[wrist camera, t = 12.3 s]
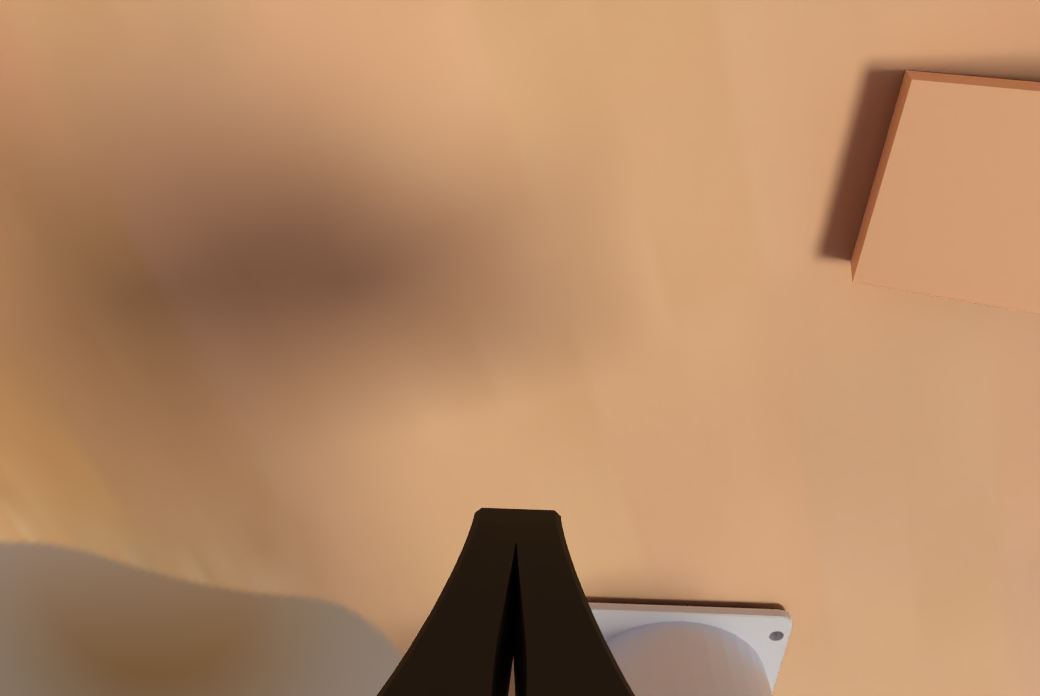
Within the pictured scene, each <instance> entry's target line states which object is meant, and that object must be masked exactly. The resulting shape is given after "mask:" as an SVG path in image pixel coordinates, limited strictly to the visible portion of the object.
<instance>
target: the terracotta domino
mask: <svg viewBox="0 0 1040 696" xmlns="http://www.w3.org/2000/svg"><path fill="white" fill-rule="evenodd" d="M851 270H852V282H853V283H859V284H865V285H871V286H877V287H882V288H888V289H894V290H900V291H906V292H912V293H918V294H924V295H930V296H935V297H941V298H947V299H953V300H959V301H965V302H971V303H977V304H983V305H988V306H994V307H1000V308H1006V309H1012V310H1018V311H1024V312H1030V313H1036V314H1040V82H1032V81H1020V80H1009V79H998V78H987V77H976V76H965V75H954V74H943V73H932V72H921V71H910V70H906V71H905V74H904V78H903V81H902V85H901V88H900V92H899V95H898V98H897V102H896V105H895V109H894V112H893V116H892V119H891V123H890V126H889V130H888V133H887V137H886V140H885V144H884V147H883V151H882V154H881V158H880V161H879V165H878V168H877V172H876V175H875V178H874V182H873V185H872V189H871V192H870V196H869V199H868V203H867V206H866V210H865V213H864V217H863V220H862V224H861V227H860V231H859V234H858V238H857V241H856V245H855V248H854V252H853V255H852V259H851Z"/></svg>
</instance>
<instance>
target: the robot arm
mask: <svg viewBox="0 0 1040 696" xmlns="http://www.w3.org/2000/svg"><path fill="white" fill-rule="evenodd" d="M791 629H792V620H791V617H790V615H789V613H788V612H786V611H784V610H779V609H756V608H728V607H701V606H674V605H646V604H619V603H592V602H588V601H587V599H586V596H585V594H584V592H583V589H582V587H581V584H580V582H579V579H578V577H577V574H576V571H575V568H574V565H573V563H572V560H571V557H570V554H569V550H568V547H567V544H566V540H565V537H564V532H563V528H562V523H561V516H560V515H559V514H558V513H557V512H556V511H554V510H527V509H498V508H481V509H480V510H478V511H477V512H476V513H475V515H474V519H473V522H472V526H471V528H470V531H469V534H468V537H467V539H466V542H465V544H464V547H463V549H462V552H461V554H460V556H459V558H458V560H457V563H456V565H455V567H454V569H453V571H452V573H451V575H450V577H449V579H448V581H447V583H446V585H445V587H444V589H443V591H442V592H441V594H440V596H439V598H438V600H437V602H436V604H435V606H434V608H433V609H432V611H431V613H430V615H429V616H428V618H427V620H426V621H425V623H424V625H423V626H422V628H421V629H420V631H419V633H418V634H417V636H416V638H415V639H414V641H413V643H412V644H411V646H410V648H409V649H408V651H407V652H406V654H405V656H404V657H403V659H402V660H401V662H400V663H399V665H398V666H397V668H396V669H395V671H394V672H393V674H392V675H391V676H390V678H389V679H388V681H387V682H386V683H385V685H384V686H383V688H382V689H381V690H380V692H379V693H378V695H377V696H508V692H509V685H510V677H511V669H512V662H513V657H514V676H515V695H516V696H773V695H772V693H773V689H774V686H775V683H776V679H777V676H778V673H779V669H780V666H781V663H782V659H783V656H784V653H785V649H786V646H787V643H788V639H789V636H790V633H791ZM775 631H776V632H775Z"/></svg>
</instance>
